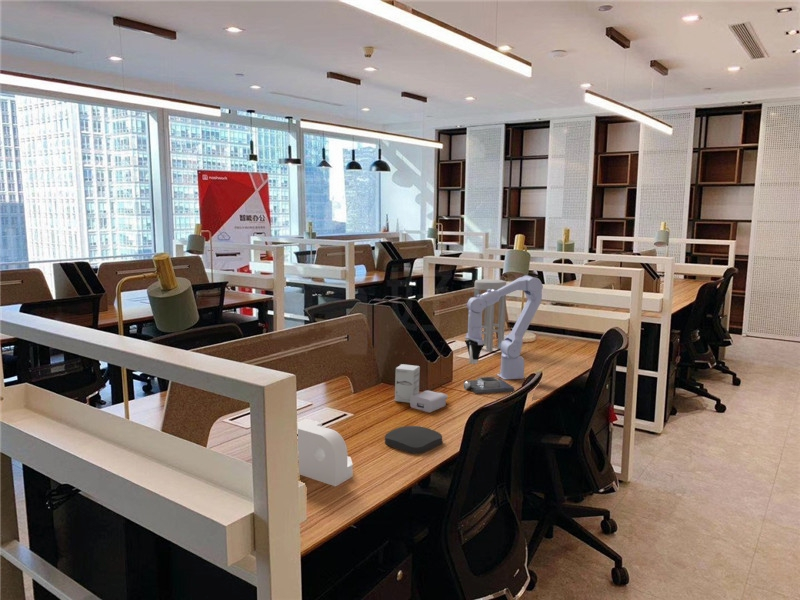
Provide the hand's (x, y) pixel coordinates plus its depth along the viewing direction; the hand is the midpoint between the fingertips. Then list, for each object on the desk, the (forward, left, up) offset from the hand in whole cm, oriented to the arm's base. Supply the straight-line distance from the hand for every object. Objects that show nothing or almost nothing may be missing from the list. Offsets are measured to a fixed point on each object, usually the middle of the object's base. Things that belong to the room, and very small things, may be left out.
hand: (473, 358), depth 250 cm
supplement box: (+35, +22, -9) cm, 42 cm away
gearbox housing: (-1, +14, -9) cm, 17 cm away
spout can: (0, 0, -2) cm, 2 cm away
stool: (-29, -52, -9) cm, 60 cm away
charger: (+27, +30, -9) cm, 41 cm away
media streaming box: (+44, +62, -9) cm, 77 cm away
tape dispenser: (+73, +76, -9) cm, 106 cm away
